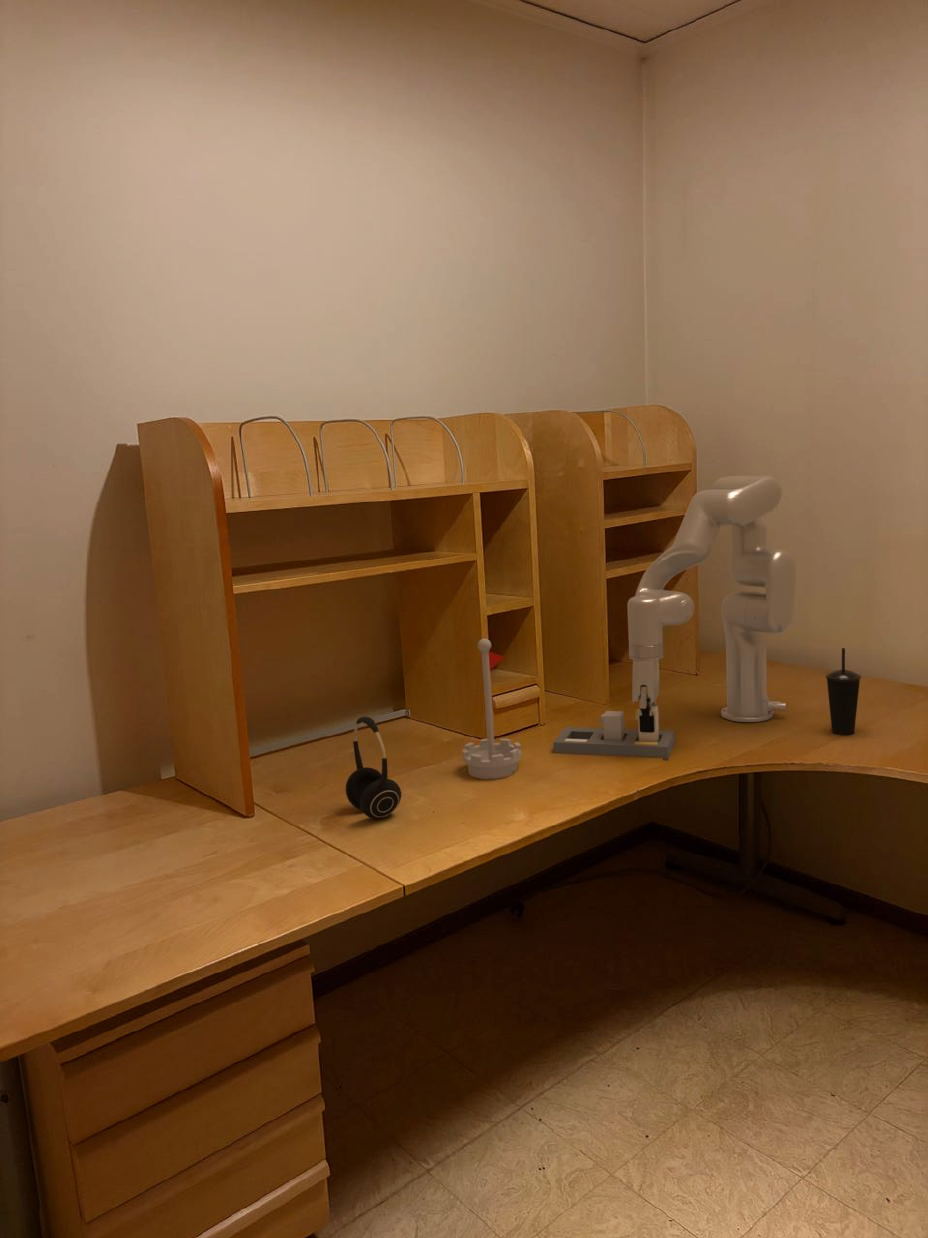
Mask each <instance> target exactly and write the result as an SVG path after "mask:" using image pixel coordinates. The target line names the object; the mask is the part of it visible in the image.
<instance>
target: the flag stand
mask: <svg viewBox="0 0 928 1238" xmlns="http://www.w3.org/2000/svg"><path fill="white" fill-rule="evenodd" d="M477 648H478V650H479V651H480V652H481V662H482V663H481V664H482V678H483V693H484V694H483V695H484V706H485V710H484V711H485V722H486V725H485V726H486V738H483V739H479V744H478V745H475V743H474V742H472V741H471V742H469V743H466V744H464V748H462V750H461V753H462V754H461V755H462V761H463V762H464V763H465V764H466V765H467V771H468V775H470V776H472V777H474V778H478V779H482V780H483V779H484V780H493V779H502V778H507V777H510V776H512V775H514V774H515V773H516V772H515V771H516V770H517V769H518V762H519V760H521V758H522V745H521V744H520V742H514V743H512V739H509V738H500V740H499V742H495V732H494V729H495V728H494V718H493V717H494V715H493V699H492V686H491V685H492V683H491V672H490V671H492V669H493V668H494V667H496V666H497V665H498V664H499V663H500V662H502V661H503V660H504V659H506V657H504V656H502V655H500V654H497V653H494V652H492V651H490V650H491V649H492V642H491V641H490V640H489V639H487V638H481V639H480V640H479V641H478V642H477Z"/></svg>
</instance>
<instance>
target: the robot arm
mask: <svg viewBox="0 0 928 1238" xmlns="http://www.w3.org/2000/svg"><path fill="white" fill-rule="evenodd" d="M782 491H783V490H782V486H781V484H780V482H779V481H778V480H777V478H775V477H773V476H770V475H729V476H723V477H720V478H718V479H716V480H715V481H714V483H712V486H711V489H705V490H701V491H698V492H696V493H695V494H694V495H693V496H692V498H691V500H690V502H689V505H688V507H687V509H686V512H685V513H684V516H683V519H682V521H681V524H680V526H679V528H678V531H677V534H676V536H675V539H674V541H673V543H672V544H671V546H669V548H667V550H665V551H664V552H663V553H662V554H661V555H659V556H658V557H657V558H656V559H655V560H653V562H652V563H651V564H650V565H649V566H648V567H647V568H646V570H645V571H644V572H643V575H642V577H641V579H640V580H639V581H640V582H639V584H638V586H637V588H636V591H635V595H634V596H633V597H630V598H629V599H628V601H627V628H628V629H627V632H628V656H629V657H628V658H629V659H630V660H632V684H631V686H632V688H631V689H632V691H631V692H632V702H633V704H635V703H637V702H638V701H639V707H640V715H639V720H640V732H647V733H653V732H654V715H653V706H657V698H658V696H659V694H660V668H659V667H660V666H659V665H660V664H659V663H660V661H659V660H661V659H662V658H664V643H663V642H664V639H663V637H664V635H663V627H665V626H680V625H683V624H685V623H687V622H688V621H689V620H691V618H692V617H693V615H694V612H695V604H694V601H693V599H692V598H691V597H690V595H688V594H687V593H684V592H680V591H673V590H667V589H666V590H665V589H664V588H665V586H666V584H668V583H669V581H670V580H671V579H672V578H674V577H675V576H677V575H678V574H680V573H682V572H684V571H686V570H688V569H691V568H693V567H696V566H698V565H700V564H702V563H703V562H706V560H707V559H708V558H709V555H710V553H711V551H712V548H713V546H714V544H715V541H716V538H717V536H718V533H719V531H720V530H721V529H720V528H722V527H730V549H729V550H730V551H729V553H730V554H729V576H730V579H731V580H732V582H734V583H735V584H737V585H740V586H745V587H756V588H765V592H757V591H749V590H748V591H747V590H738V591H733V592H731V593H729V594H728V595H726V596H725V597H724V598H723V601H722V602H721V606H720V614H721V620H722V624H723V630H724V634H725V637H724V638H725V651H726V652H725V654H726V655H725V658H726V662H725V665H726V667H725V668H726V704H727V705H726V706H725V707H723V708H722V709H720V716H721V717H722V718H723V719H725V720H729V721H733V722H740V723H757V722H764V721H767V720H768V721H769V720H770V719H772V718H773V717H774V711H779V712H785V711H786V709H787V708H786V707H787V706H786V702H782V701H777V700H775V701H771V700H770V699H769V695H767V647H766V643H765V640H764V638H763V635H762V633H763V634H774V635H779V634H784V633H785V632H786V631H788V630H789V629H790V627H791V625H792V622H793V619H794V612H795V610H794V609H795V597H796V581H797V578H796V577H797V568H796V563H795V559H794V558H793V556H792V555H791V553H790V552H789V551H787V550H785V549H782V548H772V547H770V548H769V547H768V527H767V522H766V520H765V517H764V516H766V515H767V514H769V513H771V512H772V511H774V510H775V509H777V507H778V505H779V504H780V501H781V499H782Z"/></svg>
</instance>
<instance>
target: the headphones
mask: <svg viewBox="0 0 928 1238" xmlns="http://www.w3.org/2000/svg"><path fill="white" fill-rule="evenodd" d="M361 723H364V724H365V725H367V727H369V728H370V729H371V730H372V732H373V734H375V736H376V738H377V740H378V743H379V746H380V751H381V756H382V757H381V764H382V765H381V772H380V771H379V770H378V769H375V768H373V767H369V766H368V767H364V765H363V759H362V756H361V752H360V749H359V748H360V747H359V742H358V729H359V726H360V724H361ZM379 732H380V730H379V728H378V726H377V724H376V722H375V720H374V719H373V718H371V717H369V716H361V717H359V718H358V719H357V720H356V724H355V726H354V729H353V741H352V743H353V744H352V746H353V753H354V760H355V766H356V770H354V771H353V772H352V773H351V774H350V775H349V777H348V778H347V781H346V784H345V795H346V798H347V800H348V802H349V803H350V804H351V805H352V806H353V807H354V808H356V809H358V810H360V811H362V813H363V814H364V815H365V816H366V817H367V818H371V819H376V820H377V819H382V818H386V817H388V816H389V815H391V814H392V813H393V812H394V811H395V810H396V809H397V808H398V807H399V805H400V803H401V799H402V790H401V787H400V786H399V784H398V783H397V782H396V781H395V780H393V779H390V778H389V777H388V776H389V774H388V771H389V770H388V758H387V755H386V749H385V746H384V742H383V740H382V737H381V735H380V733H379Z"/></svg>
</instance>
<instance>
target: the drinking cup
mask: <svg viewBox="0 0 928 1238" xmlns="http://www.w3.org/2000/svg"><path fill="white" fill-rule="evenodd" d="M825 679H826V684H827V692H828V694H827V696H828V703H829V704H828V705H829V714H830V724H831V725H830V726H831V733H833V734H835V735H838V736H850V735H853V734H855V730H856V729H855V727H856V721H857V720H856V719H857V711H858V701H859V690H860V682H861V679H862V675H861V674H860V673H857V672H855V671H853V670H850V669H846V648H845V647H843V648H841V669H835V670H833V671H830V672H827V673H825Z"/></svg>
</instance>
